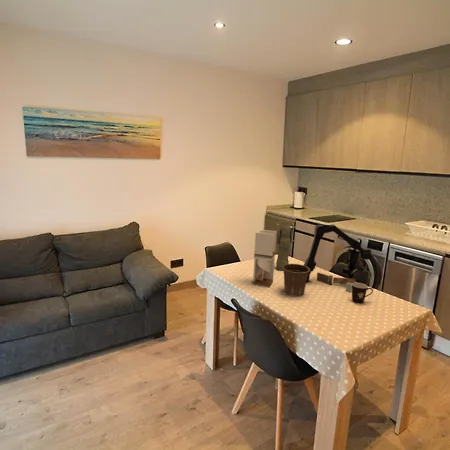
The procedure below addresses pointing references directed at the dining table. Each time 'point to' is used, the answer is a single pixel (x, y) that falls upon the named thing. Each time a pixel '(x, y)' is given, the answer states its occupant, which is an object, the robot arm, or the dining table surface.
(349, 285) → the latch stile
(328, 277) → the hinge post
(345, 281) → the gate
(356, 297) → the coffee mug
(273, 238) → the grey dispenser tower
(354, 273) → the robot arm
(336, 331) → the dining table surface
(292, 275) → the plant pot
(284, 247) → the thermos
